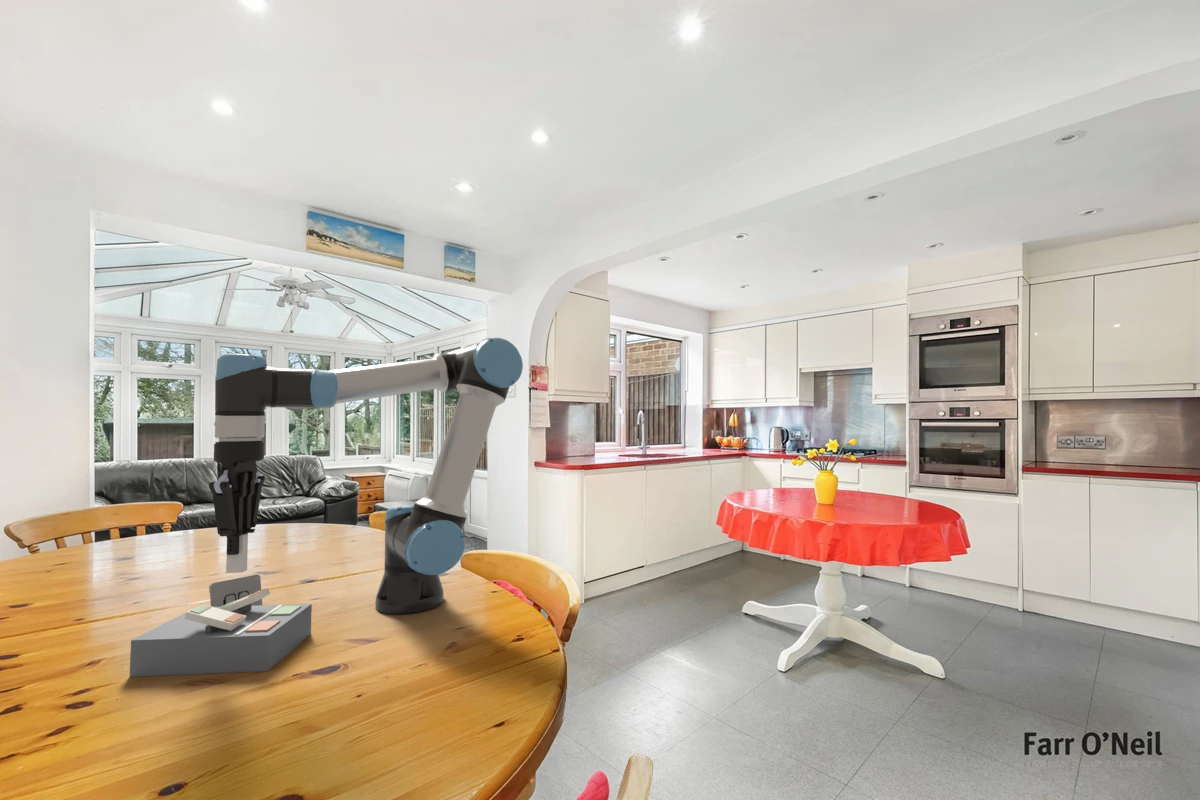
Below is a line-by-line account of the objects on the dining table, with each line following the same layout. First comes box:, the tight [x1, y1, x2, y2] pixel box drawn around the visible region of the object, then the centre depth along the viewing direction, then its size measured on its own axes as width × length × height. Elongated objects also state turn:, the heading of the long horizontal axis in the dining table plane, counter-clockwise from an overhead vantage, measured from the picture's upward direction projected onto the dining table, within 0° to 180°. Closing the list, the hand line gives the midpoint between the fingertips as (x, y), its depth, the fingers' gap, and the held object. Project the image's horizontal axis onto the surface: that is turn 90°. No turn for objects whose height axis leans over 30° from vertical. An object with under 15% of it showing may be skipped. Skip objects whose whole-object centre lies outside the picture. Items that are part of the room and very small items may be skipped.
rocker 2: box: [219, 587, 271, 612], centre depth 101 cm, size 8×4×1 cm, turn 96°
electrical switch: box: [208, 573, 263, 607], centre depth 113 cm, size 9×5×9 cm, turn 141°
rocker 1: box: [185, 603, 246, 631], centre depth 93 cm, size 8×4×1 cm, turn 94°
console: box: [129, 603, 313, 678], centre depth 96 cm, size 22×16×7 cm
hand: (236, 571), depth 93 cm, fingers closed
